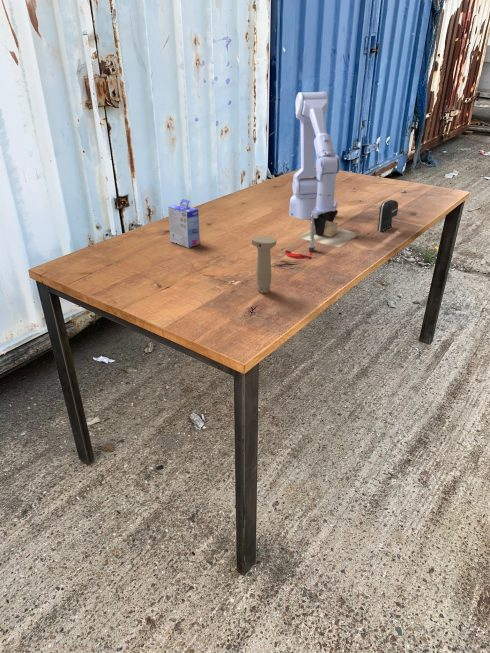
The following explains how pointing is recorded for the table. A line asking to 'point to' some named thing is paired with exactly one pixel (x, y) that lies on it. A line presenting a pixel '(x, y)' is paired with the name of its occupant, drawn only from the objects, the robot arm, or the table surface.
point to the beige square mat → (336, 240)
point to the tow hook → (312, 243)
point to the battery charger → (387, 215)
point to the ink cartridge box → (184, 224)
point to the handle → (264, 261)
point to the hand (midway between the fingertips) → (323, 232)
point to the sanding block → (329, 229)
